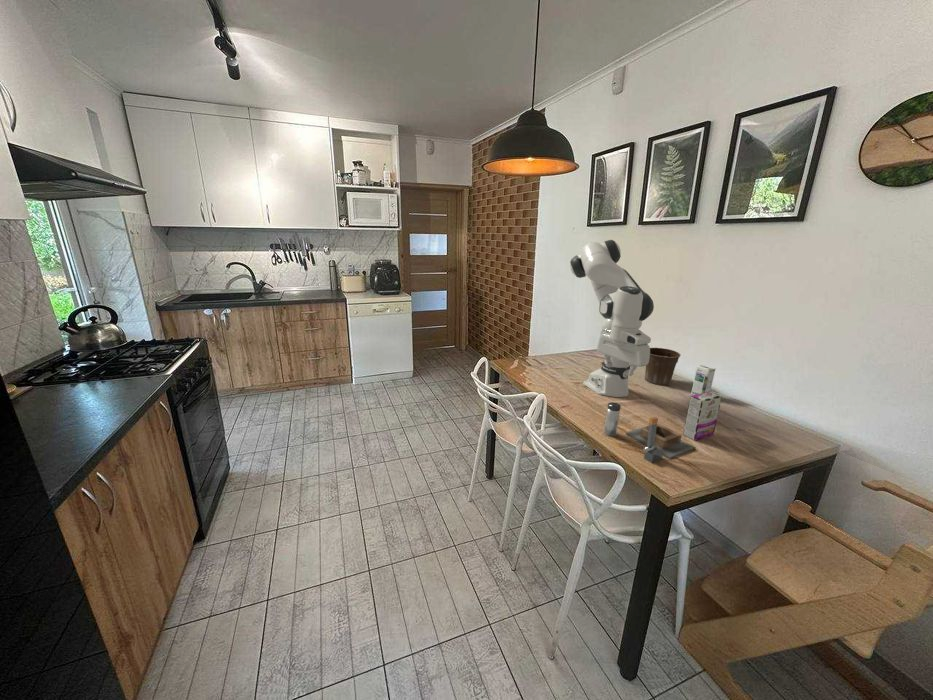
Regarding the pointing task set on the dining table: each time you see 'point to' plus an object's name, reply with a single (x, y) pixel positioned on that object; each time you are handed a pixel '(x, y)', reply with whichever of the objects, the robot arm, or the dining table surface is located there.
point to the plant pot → (661, 366)
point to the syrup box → (703, 379)
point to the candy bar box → (702, 415)
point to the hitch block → (663, 440)
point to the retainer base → (652, 454)
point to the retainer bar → (652, 431)
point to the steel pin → (612, 419)
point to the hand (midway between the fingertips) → (619, 370)
